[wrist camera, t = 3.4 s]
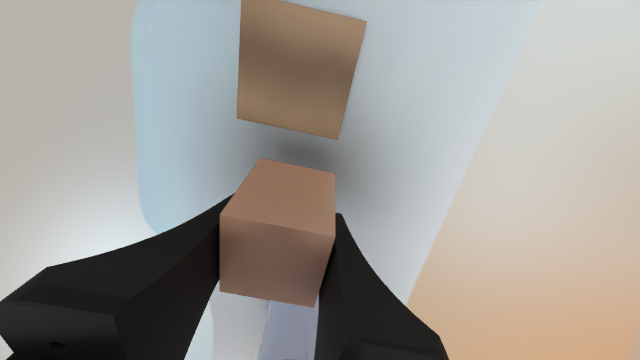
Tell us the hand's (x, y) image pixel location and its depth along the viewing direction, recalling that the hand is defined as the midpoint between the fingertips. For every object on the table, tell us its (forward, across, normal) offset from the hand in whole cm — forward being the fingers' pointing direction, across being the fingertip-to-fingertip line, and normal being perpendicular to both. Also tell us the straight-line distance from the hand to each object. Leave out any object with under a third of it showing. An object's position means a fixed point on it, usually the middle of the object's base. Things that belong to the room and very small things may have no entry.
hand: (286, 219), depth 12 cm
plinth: (+8, +1, -6) cm, 10 cm away
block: (+2, 0, 0) cm, 2 cm away
